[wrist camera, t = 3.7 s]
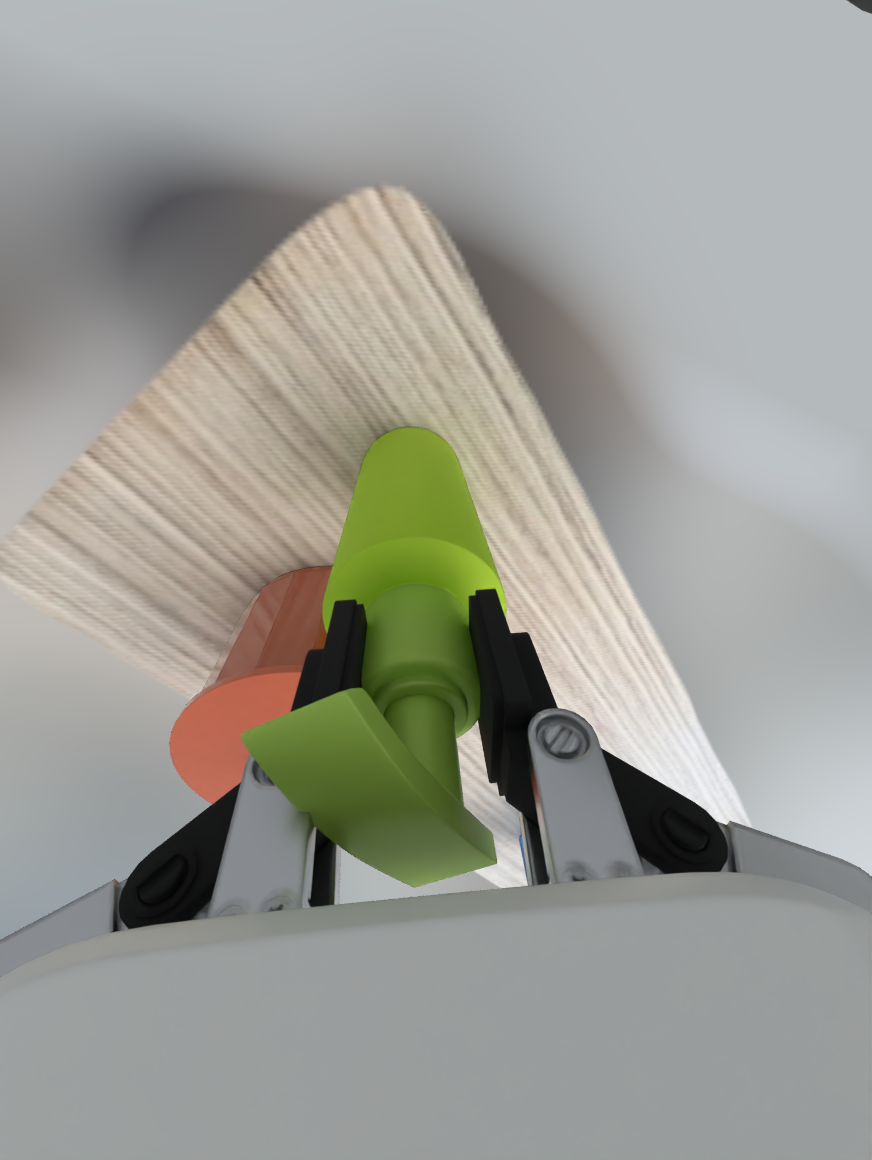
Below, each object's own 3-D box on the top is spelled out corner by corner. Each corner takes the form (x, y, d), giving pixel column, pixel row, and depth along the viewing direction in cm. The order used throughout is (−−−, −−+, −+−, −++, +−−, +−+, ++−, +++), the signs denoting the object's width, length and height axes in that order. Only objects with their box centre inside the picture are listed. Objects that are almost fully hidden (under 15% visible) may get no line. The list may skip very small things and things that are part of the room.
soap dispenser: (423, 387, 21) (486, 663, 5) (477, 498, 25) (619, 876, 8) (329, 441, 23) (116, 812, 6) (393, 539, 26) (370, 943, 10)
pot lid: (132, 668, 19) (63, 758, 15) (426, 643, 19) (432, 725, 16) (227, 820, 26) (197, 906, 23) (438, 800, 27) (444, 881, 23)
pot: (218, 573, 27) (140, 684, 19) (412, 559, 27) (416, 661, 19) (270, 703, 34) (229, 825, 26) (424, 690, 34) (431, 805, 26)
